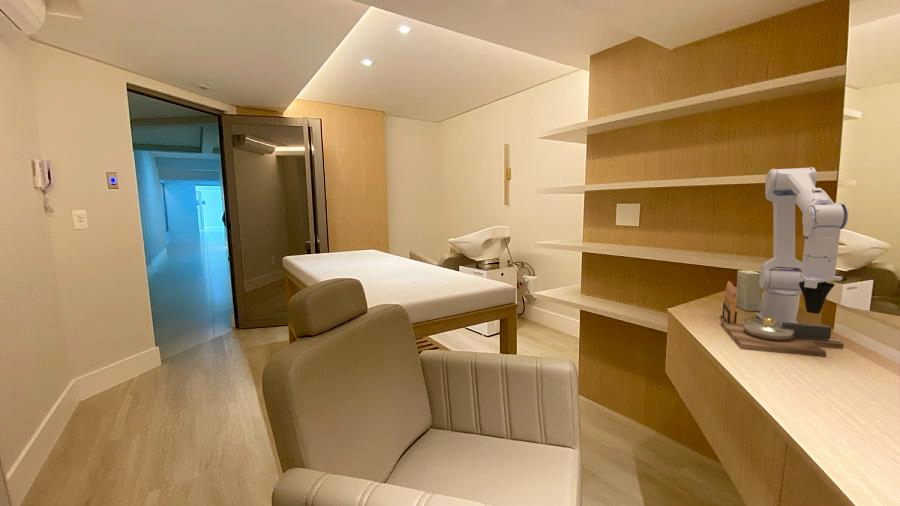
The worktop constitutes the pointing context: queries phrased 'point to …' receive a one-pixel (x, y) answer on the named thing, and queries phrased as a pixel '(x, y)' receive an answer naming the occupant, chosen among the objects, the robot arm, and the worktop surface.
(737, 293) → the skincare box
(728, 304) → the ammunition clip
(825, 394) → the worktop surface
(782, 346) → the walnut stand
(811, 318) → the worktop surface
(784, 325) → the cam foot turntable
